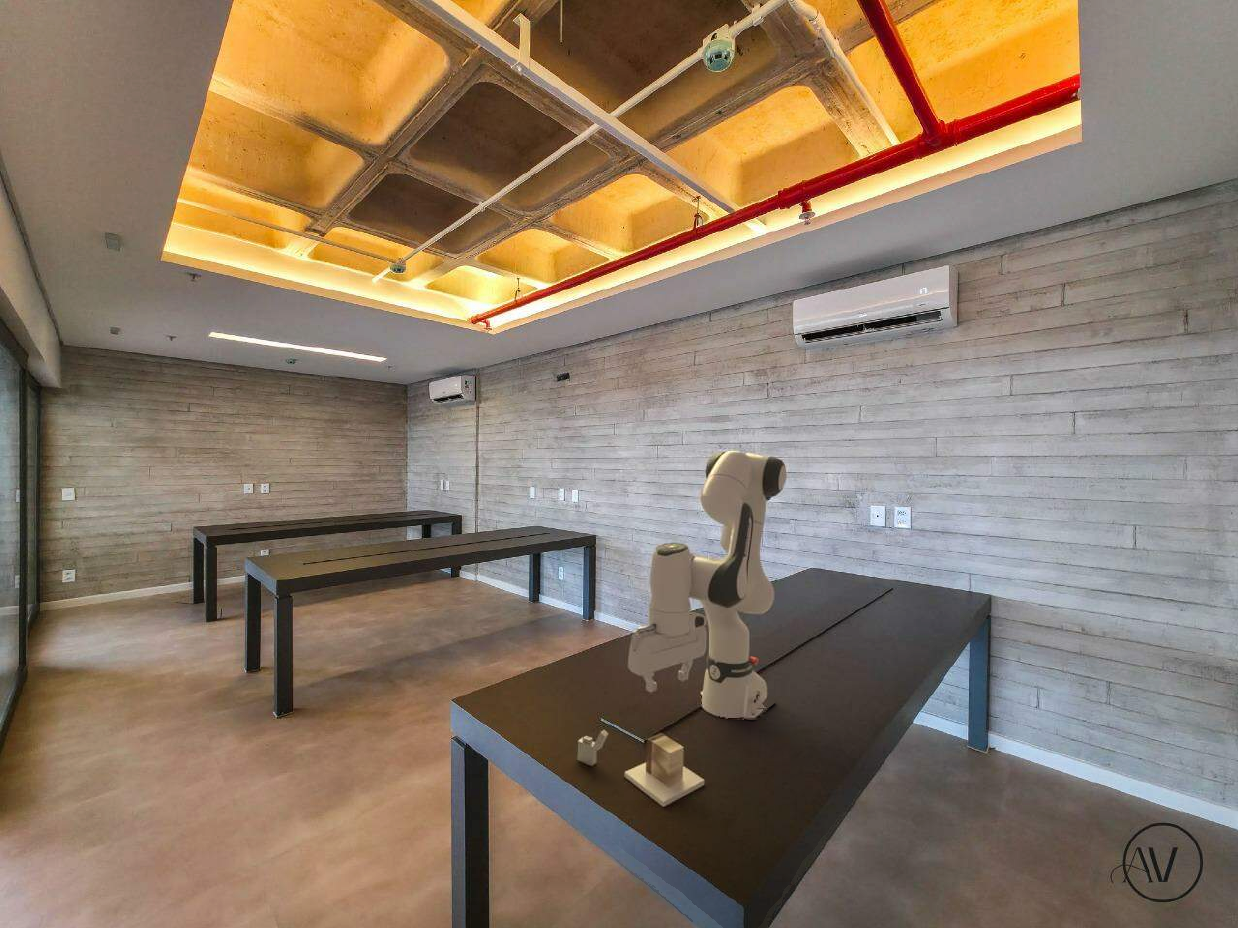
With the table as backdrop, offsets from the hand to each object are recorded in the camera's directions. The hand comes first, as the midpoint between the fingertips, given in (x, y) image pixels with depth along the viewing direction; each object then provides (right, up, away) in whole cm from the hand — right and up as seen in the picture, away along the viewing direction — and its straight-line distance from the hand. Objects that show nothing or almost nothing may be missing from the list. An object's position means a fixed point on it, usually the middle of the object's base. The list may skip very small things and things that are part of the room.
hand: (667, 685), depth 109 cm
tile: (-1, -20, 0) cm, 20 cm away
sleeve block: (-1, -19, 0) cm, 19 cm away
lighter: (-16, -20, +5) cm, 26 cm away
